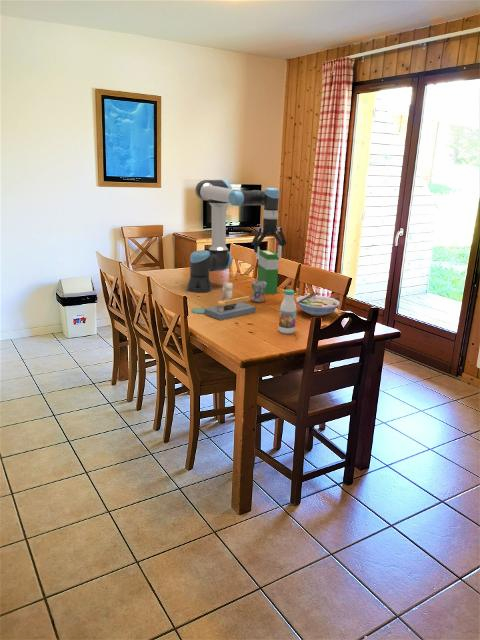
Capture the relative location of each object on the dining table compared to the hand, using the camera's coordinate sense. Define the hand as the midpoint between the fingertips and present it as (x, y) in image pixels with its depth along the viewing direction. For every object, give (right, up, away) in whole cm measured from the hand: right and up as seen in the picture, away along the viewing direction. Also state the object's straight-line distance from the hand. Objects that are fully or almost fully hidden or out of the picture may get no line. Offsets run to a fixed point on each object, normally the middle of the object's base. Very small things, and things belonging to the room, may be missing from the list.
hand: (268, 258), depth 271 cm
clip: (-18, -25, -12) cm, 33 cm away
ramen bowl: (+25, -31, -5) cm, 40 cm away
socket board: (-20, -30, -9) cm, 37 cm away
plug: (-22, -30, -9) cm, 38 cm away
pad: (-36, -29, -8) cm, 47 cm away
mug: (-5, -22, +18) cm, 29 cm away
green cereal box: (+1, -15, +41) cm, 44 cm away
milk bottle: (+7, -39, -34) cm, 52 cm away
